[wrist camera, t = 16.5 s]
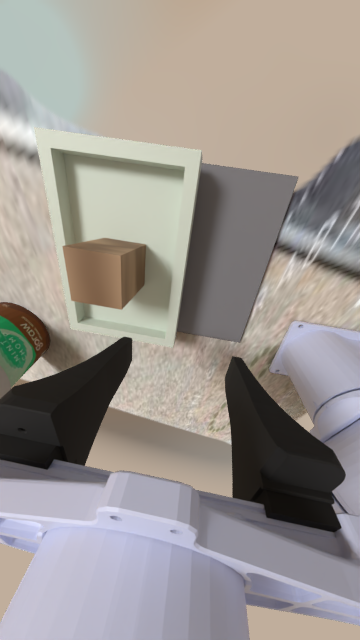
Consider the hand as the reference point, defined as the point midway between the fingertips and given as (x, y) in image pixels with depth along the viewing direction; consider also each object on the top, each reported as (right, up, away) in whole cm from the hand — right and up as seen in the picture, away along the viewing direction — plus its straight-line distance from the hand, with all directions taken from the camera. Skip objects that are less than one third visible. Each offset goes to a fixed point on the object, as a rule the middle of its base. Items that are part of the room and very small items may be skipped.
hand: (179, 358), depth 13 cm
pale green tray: (-5, +10, +7) cm, 13 cm away
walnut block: (-5, +8, +5) cm, 11 cm away
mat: (-2, +9, +7) cm, 12 cm away
